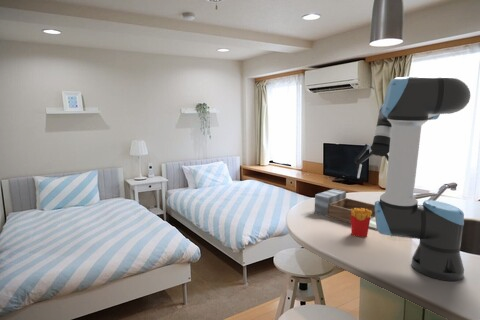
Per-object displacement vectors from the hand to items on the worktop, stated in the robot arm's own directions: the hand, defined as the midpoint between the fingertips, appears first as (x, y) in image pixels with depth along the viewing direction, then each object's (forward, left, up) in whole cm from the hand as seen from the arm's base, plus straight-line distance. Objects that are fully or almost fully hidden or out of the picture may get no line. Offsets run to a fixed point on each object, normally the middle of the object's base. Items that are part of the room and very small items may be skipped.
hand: (373, 180), depth 141 cm
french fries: (-14, -2, -22) cm, 26 cm away
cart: (+5, +12, -22) cm, 26 cm away
